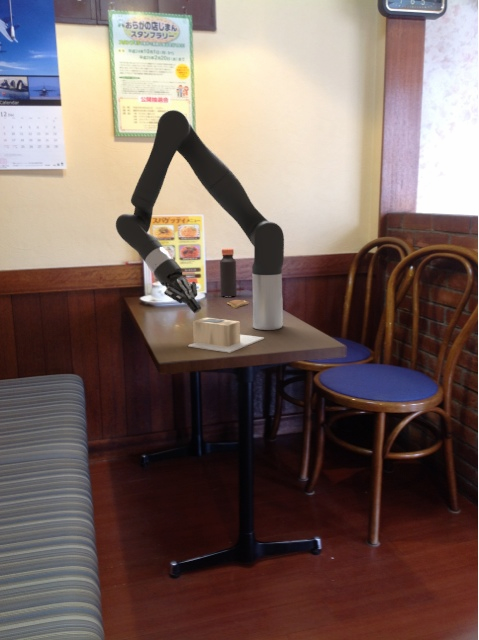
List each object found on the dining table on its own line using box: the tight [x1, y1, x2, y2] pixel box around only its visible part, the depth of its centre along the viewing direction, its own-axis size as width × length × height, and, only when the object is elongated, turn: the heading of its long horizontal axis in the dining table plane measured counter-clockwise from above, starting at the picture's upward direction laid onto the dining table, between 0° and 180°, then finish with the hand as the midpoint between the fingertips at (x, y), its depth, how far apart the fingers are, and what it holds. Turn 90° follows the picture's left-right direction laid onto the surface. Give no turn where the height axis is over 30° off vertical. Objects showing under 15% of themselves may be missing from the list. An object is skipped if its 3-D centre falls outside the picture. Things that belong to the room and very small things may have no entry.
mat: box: [187, 333, 265, 354], centre depth 162 cm, size 18×14×1 cm
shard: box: [226, 299, 250, 309], centre depth 222 cm, size 11×8×2 cm
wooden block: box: [192, 317, 241, 347], centre depth 161 cm, size 6×6×12 cm
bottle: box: [219, 248, 238, 297], centre depth 242 cm, size 7×7×20 cm
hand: (198, 310), depth 164 cm, fingers closed
